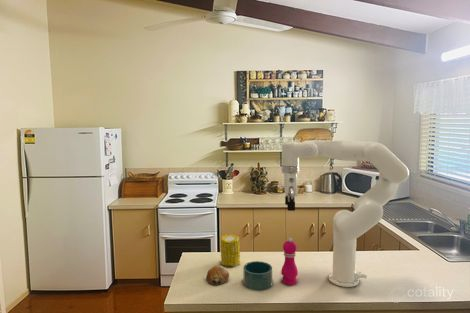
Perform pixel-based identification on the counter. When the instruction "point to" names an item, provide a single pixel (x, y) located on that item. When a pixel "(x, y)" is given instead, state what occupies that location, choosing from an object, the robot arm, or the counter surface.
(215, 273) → the bread roll
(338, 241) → the robot arm
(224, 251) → the food
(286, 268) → the pepper mill
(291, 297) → the counter surface
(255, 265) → the pot
